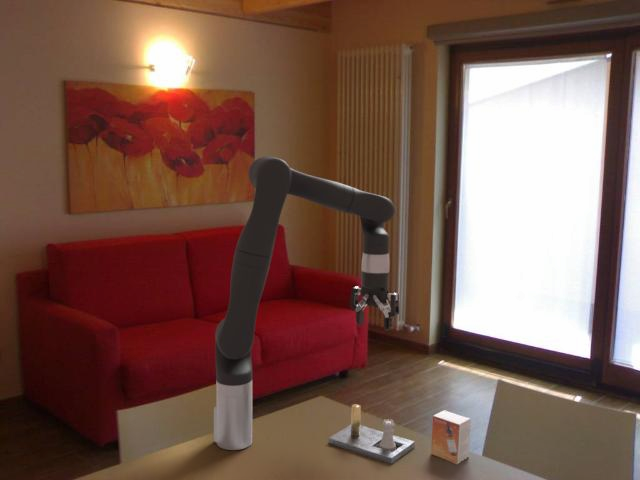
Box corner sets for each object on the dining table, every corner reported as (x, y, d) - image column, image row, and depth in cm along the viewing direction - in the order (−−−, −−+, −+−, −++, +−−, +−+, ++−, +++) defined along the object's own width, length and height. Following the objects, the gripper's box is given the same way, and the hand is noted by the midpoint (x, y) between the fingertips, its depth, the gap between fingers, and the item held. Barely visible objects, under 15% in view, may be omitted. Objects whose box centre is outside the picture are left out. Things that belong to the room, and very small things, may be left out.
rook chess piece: (395, 455, 175) (396, 425, 173) (377, 453, 175) (378, 423, 174) (396, 447, 179) (398, 418, 178) (379, 445, 180) (380, 416, 179)
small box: (430, 454, 175) (431, 415, 174) (442, 447, 179) (444, 409, 178) (457, 465, 170) (459, 424, 168) (469, 457, 174) (471, 418, 172)
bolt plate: (328, 443, 181) (329, 408, 179) (353, 428, 190) (354, 395, 189) (391, 464, 170) (392, 427, 168) (414, 447, 179) (415, 412, 178)
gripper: (345, 268, 187) (344, 325, 190) (391, 274, 179) (389, 335, 182) (360, 264, 193) (359, 320, 196) (405, 270, 185) (403, 329, 188)
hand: (373, 327), depth 189 cm, fingers open, 8 cm apart
